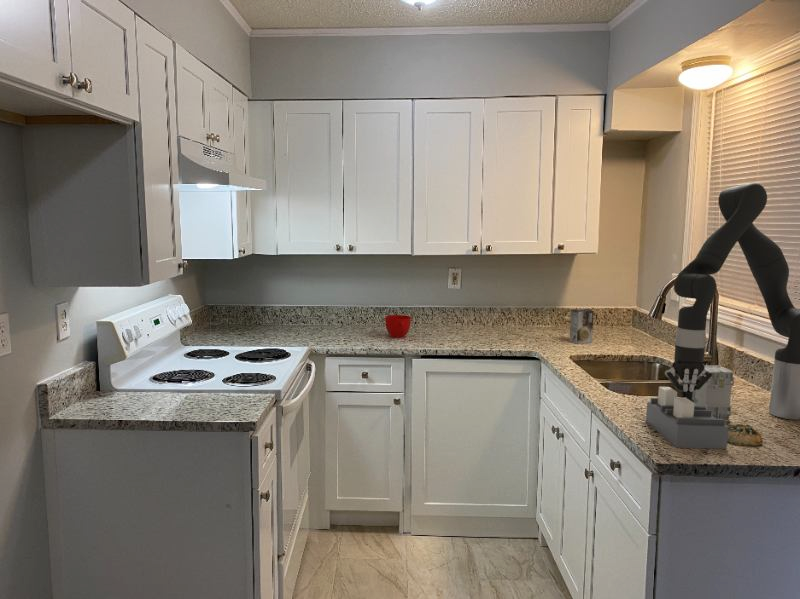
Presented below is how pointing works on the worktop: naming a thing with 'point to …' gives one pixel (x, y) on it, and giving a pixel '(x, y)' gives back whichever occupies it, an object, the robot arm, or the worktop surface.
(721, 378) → the circuit breaker
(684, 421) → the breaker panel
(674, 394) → the block
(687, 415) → the breaker
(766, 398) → the worktop surface
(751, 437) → the bread roll
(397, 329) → the ceramic cup
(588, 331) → the coffee box
